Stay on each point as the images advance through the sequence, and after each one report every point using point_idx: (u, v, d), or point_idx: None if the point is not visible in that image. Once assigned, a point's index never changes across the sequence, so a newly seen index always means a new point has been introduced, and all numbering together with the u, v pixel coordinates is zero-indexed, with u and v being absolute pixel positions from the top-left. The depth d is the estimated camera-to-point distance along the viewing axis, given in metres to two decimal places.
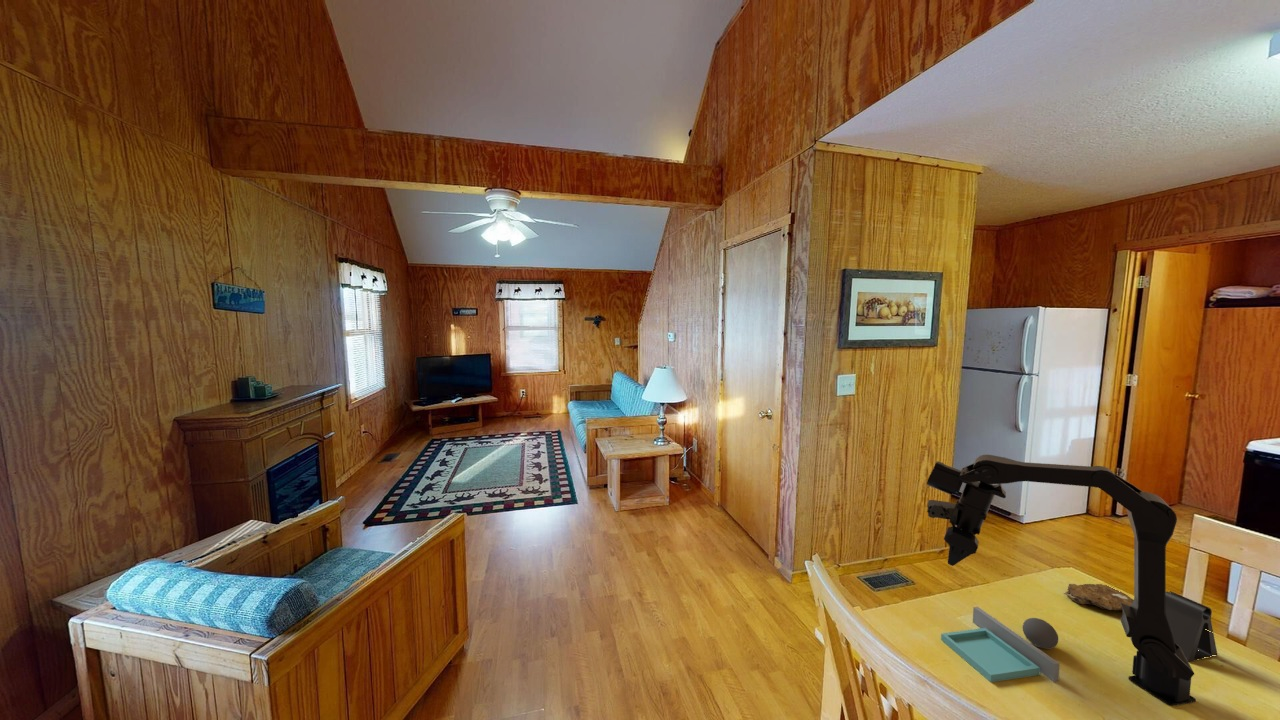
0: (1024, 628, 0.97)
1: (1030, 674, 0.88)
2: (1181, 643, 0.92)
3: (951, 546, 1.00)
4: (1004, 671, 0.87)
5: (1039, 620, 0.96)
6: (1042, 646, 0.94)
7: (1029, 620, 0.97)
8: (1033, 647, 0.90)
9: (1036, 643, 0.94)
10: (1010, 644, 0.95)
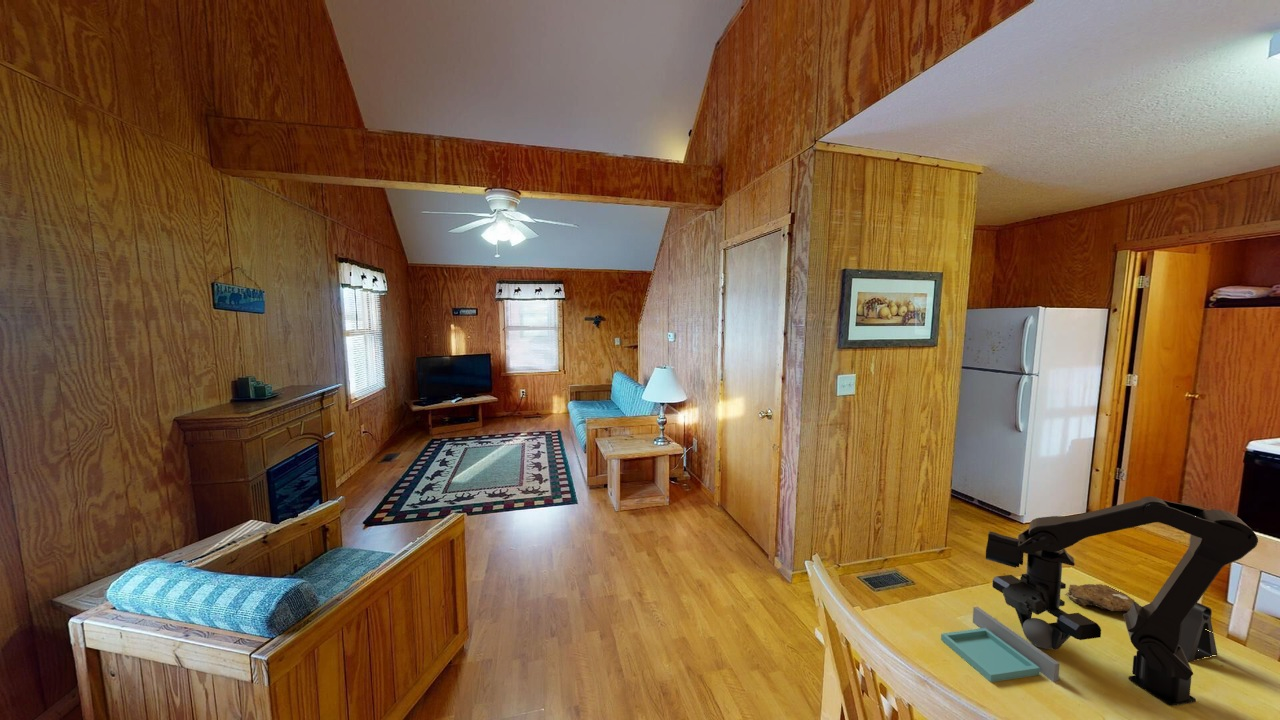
0: (1024, 628, 0.97)
1: (1030, 674, 0.88)
2: (1181, 643, 0.92)
3: (1061, 633, 0.91)
4: (1004, 671, 0.87)
5: (1039, 620, 0.96)
6: (1042, 646, 0.94)
7: (1029, 620, 0.97)
8: (1033, 647, 0.90)
9: (1036, 643, 0.94)
10: (1010, 644, 0.95)
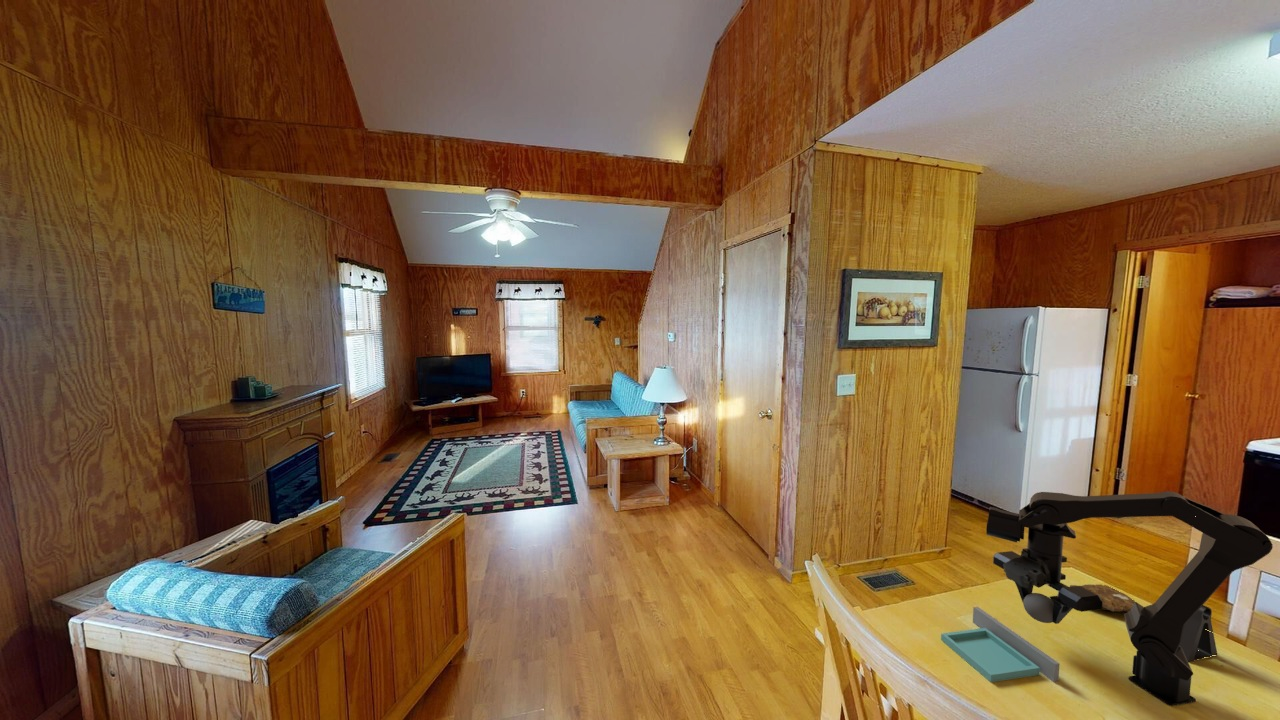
0: (1025, 603, 0.96)
1: (1030, 674, 0.88)
2: (1181, 643, 0.92)
3: (1062, 606, 0.90)
4: (1004, 671, 0.87)
5: (1040, 595, 0.95)
6: (1043, 620, 0.94)
7: (1030, 595, 0.96)
8: (1033, 647, 0.90)
9: (1037, 617, 0.94)
10: (1010, 644, 0.95)
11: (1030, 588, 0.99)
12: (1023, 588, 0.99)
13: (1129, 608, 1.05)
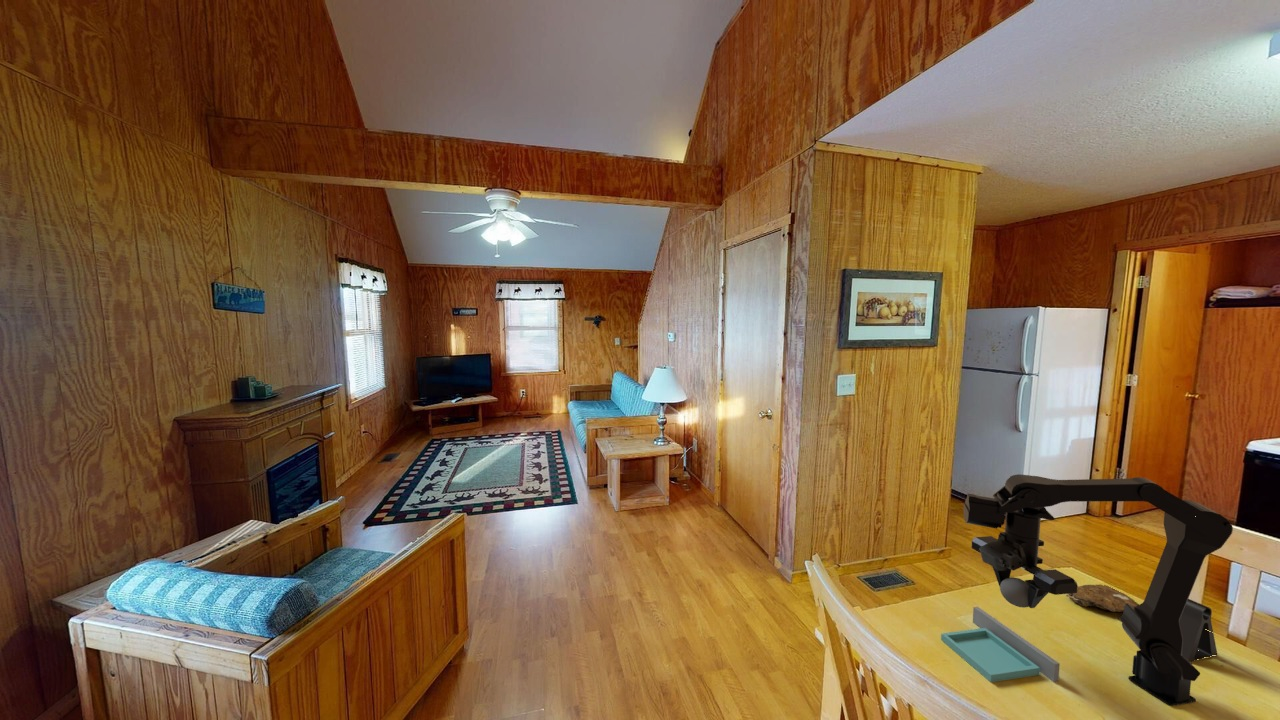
0: (1001, 587, 0.95)
1: (1030, 674, 0.88)
2: None
3: (1037, 590, 0.89)
4: (1004, 671, 0.87)
5: (1017, 579, 0.94)
6: (1019, 604, 0.92)
7: (1007, 579, 0.95)
8: (1033, 647, 0.90)
9: (1013, 602, 0.93)
10: (1010, 644, 0.95)
11: (1007, 573, 0.97)
12: (1000, 573, 0.97)
13: None
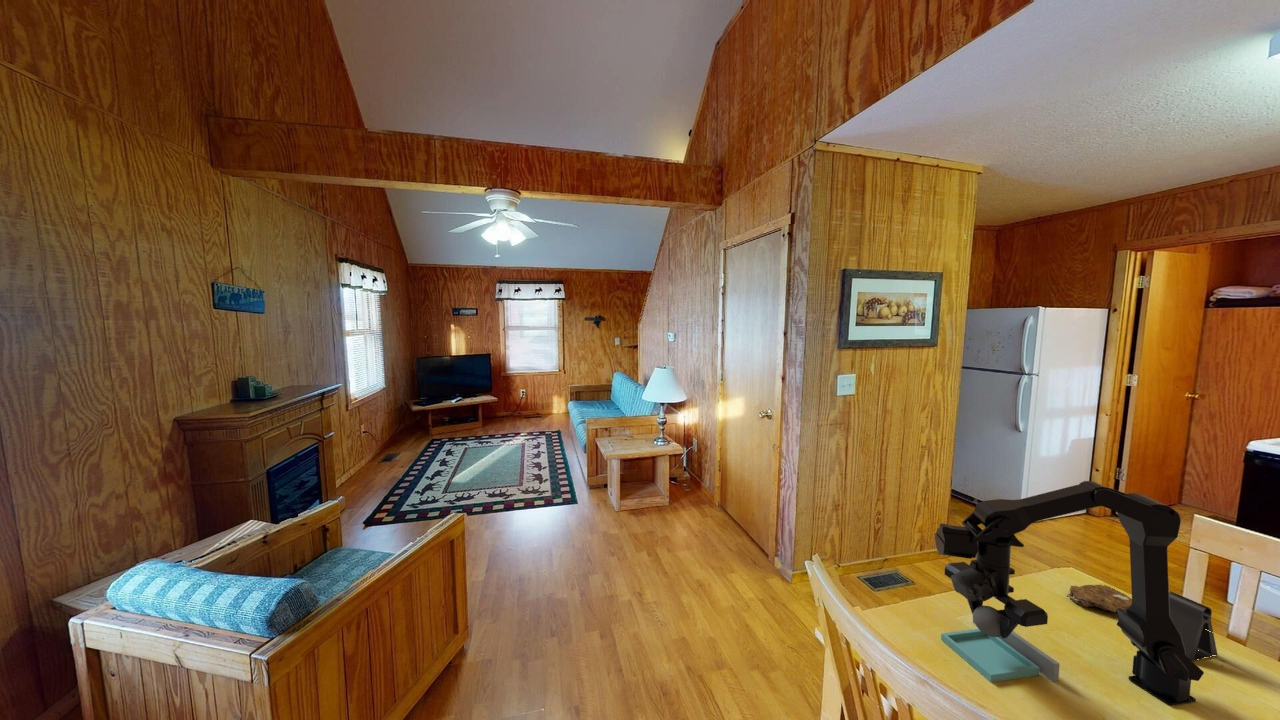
0: (974, 616, 0.93)
1: (1030, 674, 0.88)
2: None
3: (1009, 620, 0.87)
4: (1004, 671, 0.87)
5: (989, 608, 0.92)
6: (991, 634, 0.90)
7: (979, 608, 0.93)
8: (1033, 647, 0.90)
9: (985, 631, 0.91)
10: (1010, 644, 0.95)
11: (980, 600, 0.96)
12: (973, 601, 0.95)
13: None
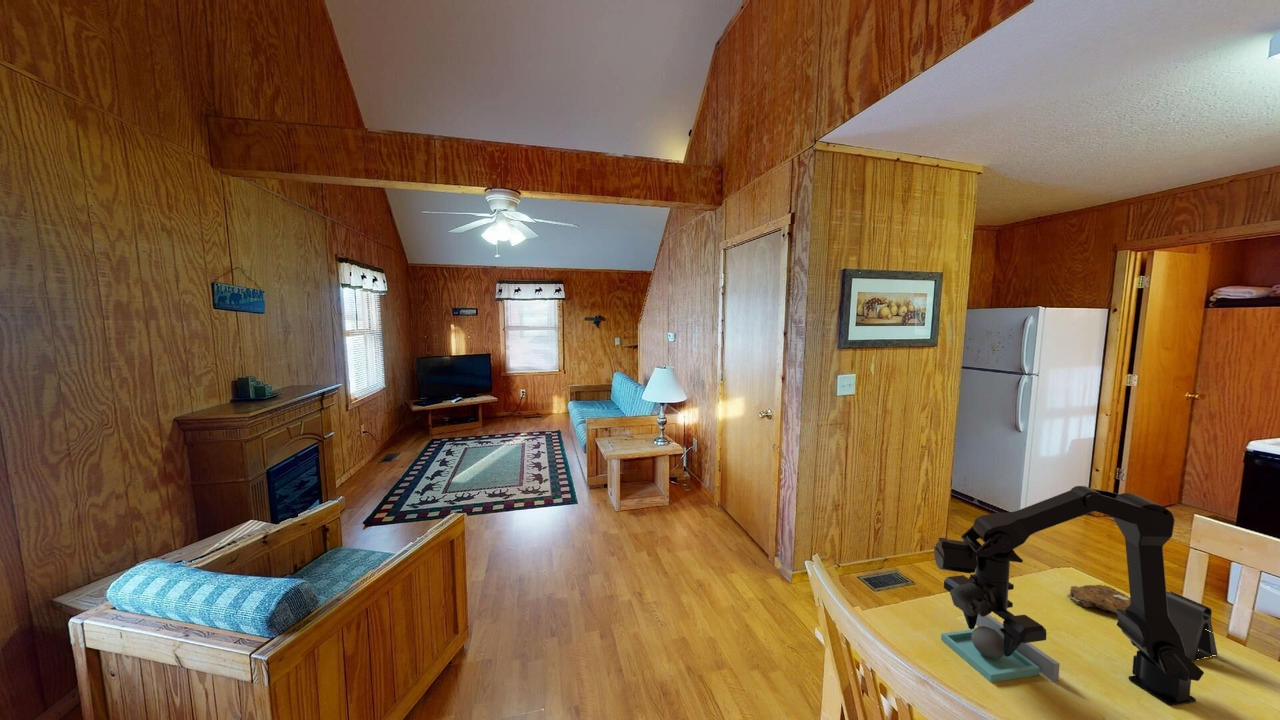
0: (972, 637, 0.94)
1: (1030, 674, 0.88)
2: None
3: (1012, 639, 0.86)
4: (1004, 671, 0.87)
5: (987, 629, 0.93)
6: (989, 656, 0.91)
7: (978, 629, 0.94)
8: (1033, 647, 0.90)
9: (984, 653, 0.91)
10: None
11: None
12: None
13: None
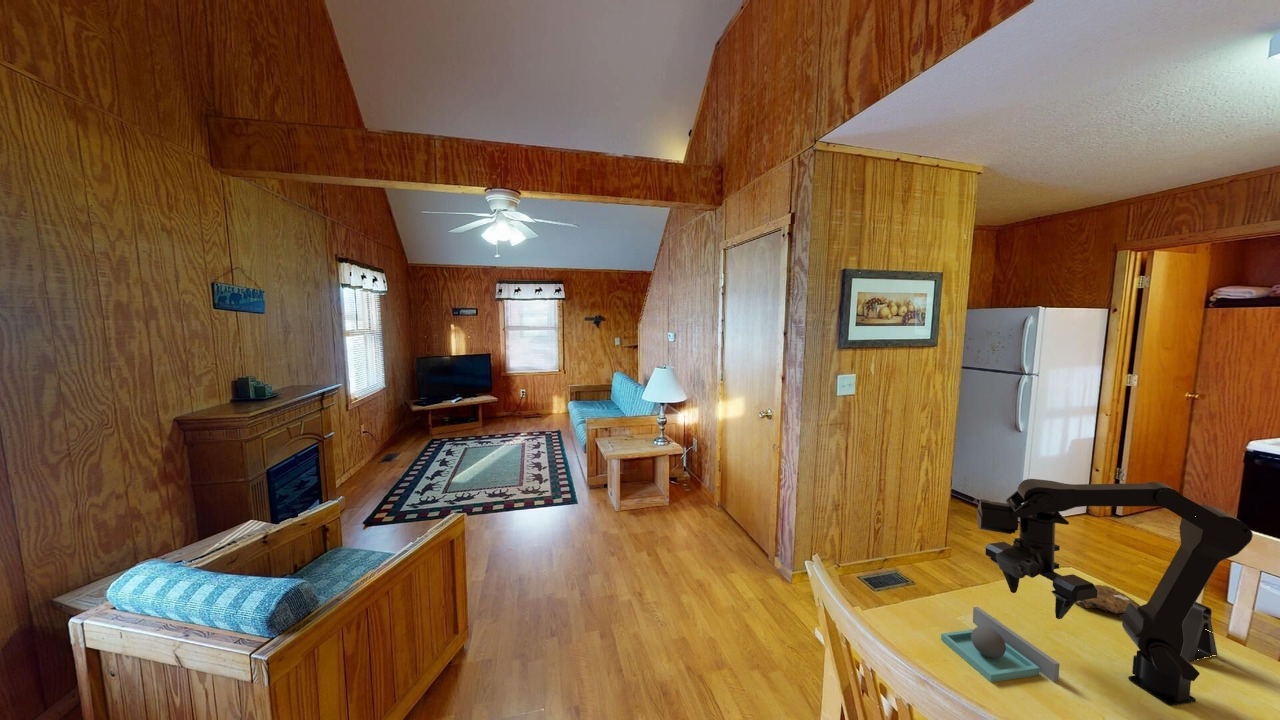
0: (972, 637, 0.94)
1: (1030, 674, 0.88)
2: None
3: (1065, 600, 0.86)
4: (1004, 671, 0.87)
5: (987, 628, 0.93)
6: (989, 655, 0.91)
7: (977, 628, 0.94)
8: (1033, 647, 0.90)
9: (983, 652, 0.91)
10: (1010, 644, 0.95)
11: None
12: (1010, 576, 0.97)
13: None
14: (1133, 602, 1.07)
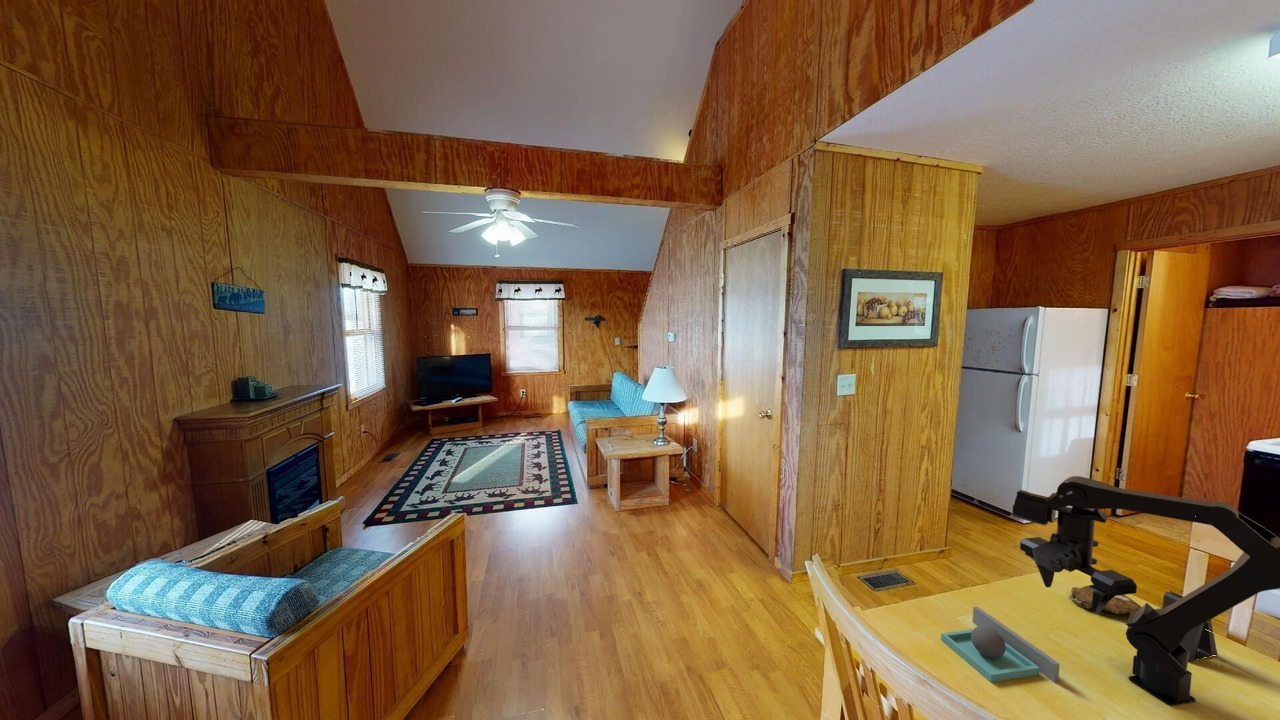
0: (972, 637, 0.94)
1: (1030, 674, 0.88)
2: (1181, 643, 0.92)
3: (1103, 595, 0.87)
4: (1004, 671, 0.87)
5: (986, 628, 0.93)
6: (989, 655, 0.91)
7: (977, 628, 0.94)
8: (1033, 647, 0.90)
9: (983, 652, 0.91)
10: (1010, 644, 0.95)
11: (1052, 570, 0.99)
12: (1045, 570, 0.98)
13: (1132, 610, 1.04)
14: (1133, 602, 1.07)
